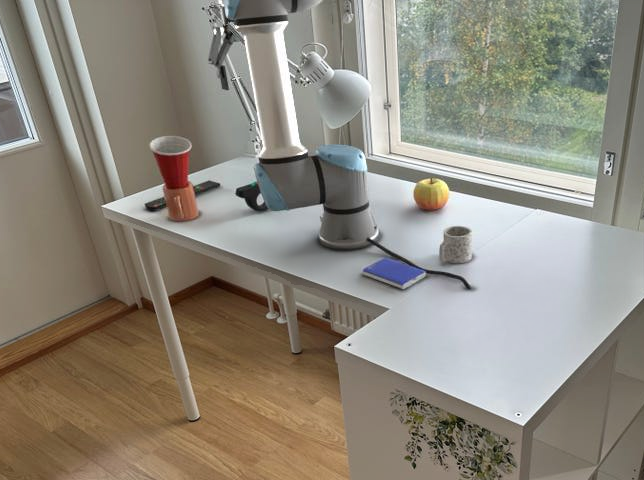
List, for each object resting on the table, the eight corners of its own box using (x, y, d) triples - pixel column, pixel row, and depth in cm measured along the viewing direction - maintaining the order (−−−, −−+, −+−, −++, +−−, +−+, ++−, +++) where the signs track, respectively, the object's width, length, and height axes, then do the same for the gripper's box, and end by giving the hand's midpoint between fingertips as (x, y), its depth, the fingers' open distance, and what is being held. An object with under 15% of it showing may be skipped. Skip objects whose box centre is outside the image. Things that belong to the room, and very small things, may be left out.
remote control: (220, 187, 220) (219, 183, 219) (154, 212, 205) (153, 208, 204) (210, 184, 223) (209, 180, 222) (143, 208, 208) (142, 204, 207)
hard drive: (362, 269, 165) (402, 283, 158) (386, 256, 170) (425, 270, 163) (362, 275, 166) (402, 290, 159) (386, 262, 171) (426, 276, 164)
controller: (282, 206, 204) (277, 172, 199) (245, 219, 198) (239, 184, 192) (274, 203, 207) (269, 169, 202) (237, 215, 200) (230, 180, 195)
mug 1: (170, 212, 204) (163, 182, 199) (199, 209, 205) (192, 178, 200) (167, 227, 195) (159, 195, 190) (197, 223, 196) (190, 192, 191)
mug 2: (455, 249, 176) (454, 223, 172) (477, 255, 172) (477, 230, 168) (429, 263, 170) (428, 237, 166) (451, 270, 166) (451, 244, 162)
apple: (443, 198, 205) (442, 171, 200) (453, 210, 197) (453, 182, 192) (410, 203, 203) (409, 175, 198) (419, 215, 195) (418, 187, 190)
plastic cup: (173, 197, 191) (166, 154, 183) (148, 185, 196) (140, 143, 188) (205, 184, 198) (199, 143, 190) (180, 173, 203) (173, 132, 195)
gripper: (264, -2, 206) (275, 75, 217) (185, 9, 192) (201, 91, 204) (278, 0, 201) (289, 79, 213) (198, 11, 187) (214, 95, 199)
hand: (246, 85), depth 208 cm, fingers open, 13 cm apart
